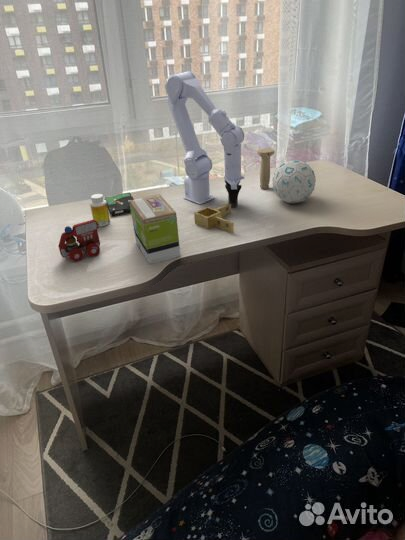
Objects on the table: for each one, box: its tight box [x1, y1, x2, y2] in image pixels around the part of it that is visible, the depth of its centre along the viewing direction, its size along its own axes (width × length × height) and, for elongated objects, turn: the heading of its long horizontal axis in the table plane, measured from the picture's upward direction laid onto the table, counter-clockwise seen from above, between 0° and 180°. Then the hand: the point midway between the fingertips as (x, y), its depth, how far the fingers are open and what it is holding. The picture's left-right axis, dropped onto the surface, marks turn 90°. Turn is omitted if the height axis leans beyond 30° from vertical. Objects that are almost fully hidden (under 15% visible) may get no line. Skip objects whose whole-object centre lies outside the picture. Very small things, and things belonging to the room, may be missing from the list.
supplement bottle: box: [89, 193, 111, 228], centre depth 139 cm, size 6×6×10 cm
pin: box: [227, 193, 239, 209], centre depth 148 cm, size 4×4×7 cm
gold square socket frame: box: [193, 203, 235, 234], centre depth 137 cm, size 14×14×4 cm
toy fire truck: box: [57, 219, 101, 263], centre depth 121 cm, size 7×12×10 cm, turn 120°
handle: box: [257, 147, 275, 190], centre depth 159 cm, size 5×6×15 cm
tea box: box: [129, 193, 181, 265], centre depth 121 cm, size 15×10×15 cm, turn 23°
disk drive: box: [104, 192, 135, 218], centre depth 153 cm, size 10×3×15 cm
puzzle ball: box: [272, 159, 317, 204], centre depth 147 cm, size 15×15×15 cm
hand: (233, 201), depth 149 cm, fingers closed on pin, 4 cm apart
